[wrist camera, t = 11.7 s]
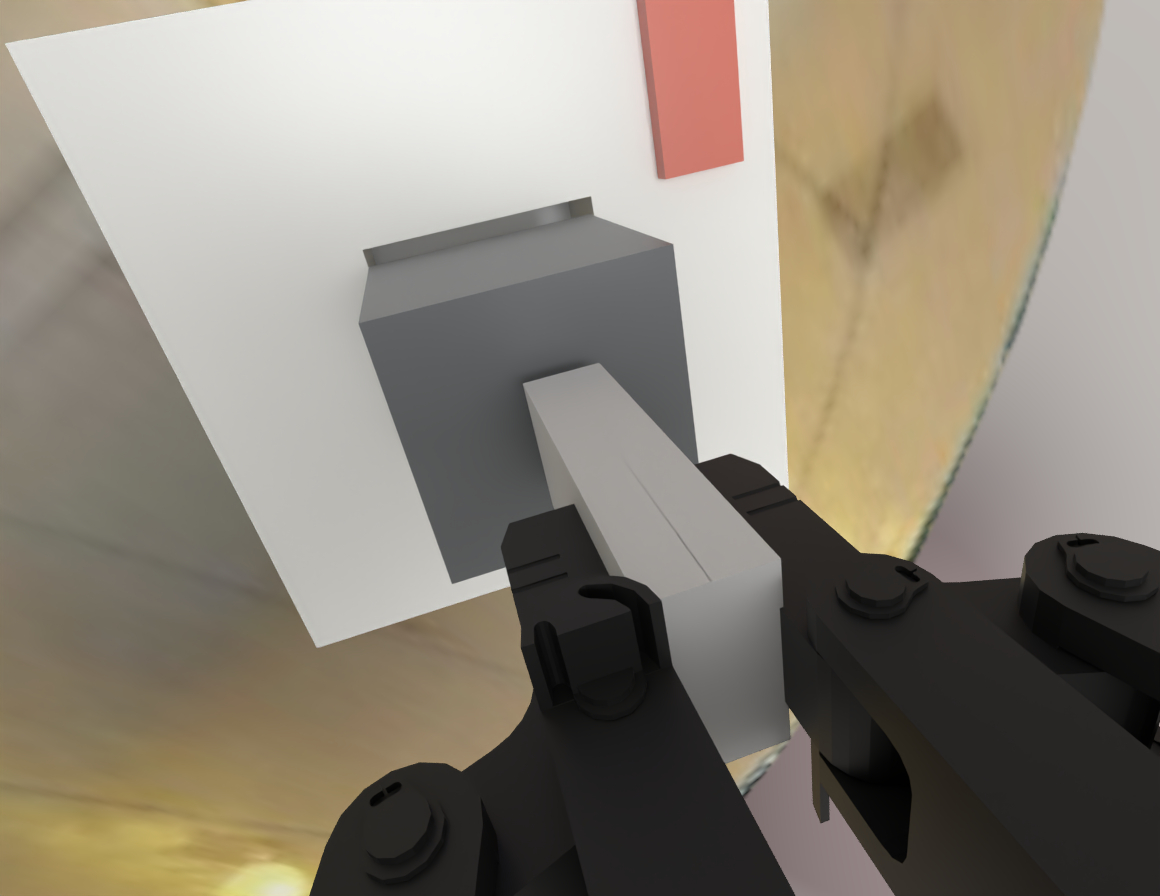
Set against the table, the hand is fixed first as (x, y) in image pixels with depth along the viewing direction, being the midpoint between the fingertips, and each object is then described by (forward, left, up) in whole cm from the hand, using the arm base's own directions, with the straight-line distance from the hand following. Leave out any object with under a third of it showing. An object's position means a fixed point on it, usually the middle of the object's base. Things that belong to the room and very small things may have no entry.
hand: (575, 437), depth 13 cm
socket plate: (0, 0, -11) cm, 11 cm away
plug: (0, 0, -11) cm, 11 cm away
